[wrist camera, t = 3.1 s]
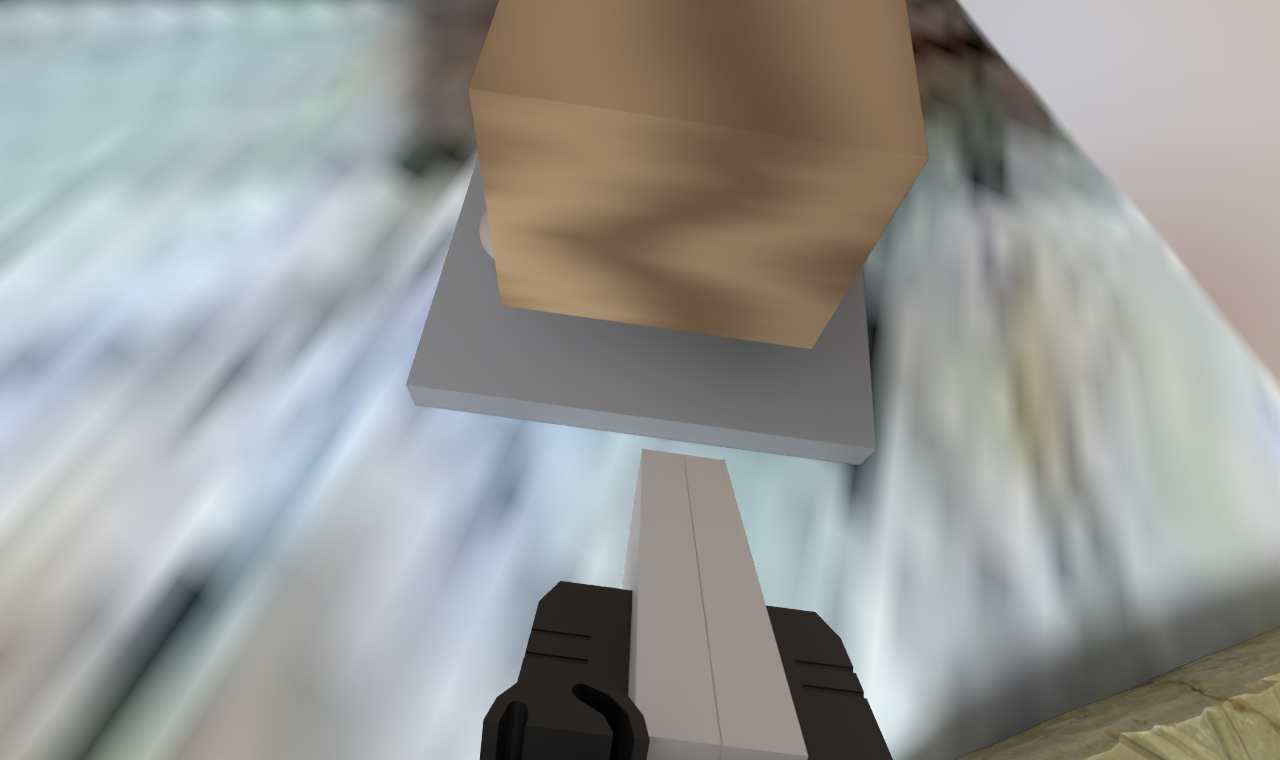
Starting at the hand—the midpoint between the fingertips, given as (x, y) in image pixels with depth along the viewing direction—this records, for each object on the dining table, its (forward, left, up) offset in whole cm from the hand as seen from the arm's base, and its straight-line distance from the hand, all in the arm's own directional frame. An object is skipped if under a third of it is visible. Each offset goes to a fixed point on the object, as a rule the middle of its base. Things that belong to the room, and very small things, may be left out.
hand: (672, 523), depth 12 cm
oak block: (0, +14, -8) cm, 16 cm away
